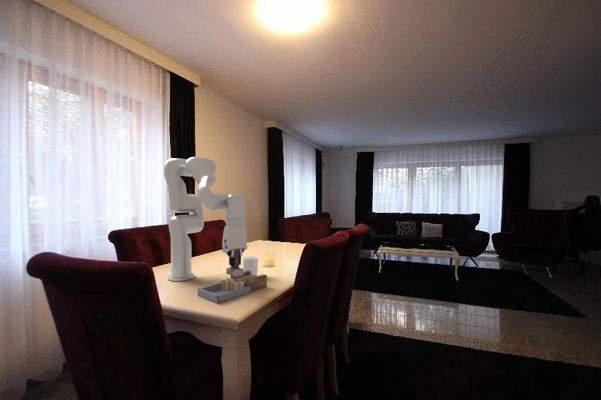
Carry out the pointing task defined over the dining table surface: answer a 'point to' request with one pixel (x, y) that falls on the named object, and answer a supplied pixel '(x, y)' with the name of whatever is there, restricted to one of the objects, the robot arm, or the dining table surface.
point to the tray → (221, 293)
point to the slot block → (252, 280)
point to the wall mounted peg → (235, 269)
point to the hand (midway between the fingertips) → (235, 264)
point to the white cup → (250, 264)
